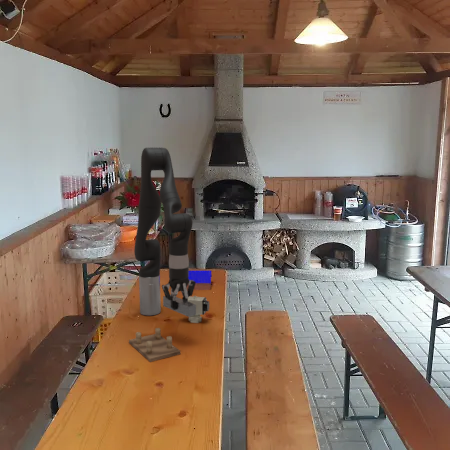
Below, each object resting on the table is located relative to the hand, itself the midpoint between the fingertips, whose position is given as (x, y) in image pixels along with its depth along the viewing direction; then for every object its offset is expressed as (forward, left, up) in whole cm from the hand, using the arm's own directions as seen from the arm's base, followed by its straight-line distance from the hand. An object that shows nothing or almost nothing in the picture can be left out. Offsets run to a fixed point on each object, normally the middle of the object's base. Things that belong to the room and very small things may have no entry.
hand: (179, 307), depth 186 cm
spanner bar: (0, 0, -1) cm, 1 cm away
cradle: (+2, -12, -13) cm, 18 cm away
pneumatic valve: (-13, +14, -13) cm, 23 cm away
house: (-53, +35, -13) cm, 65 cm away
